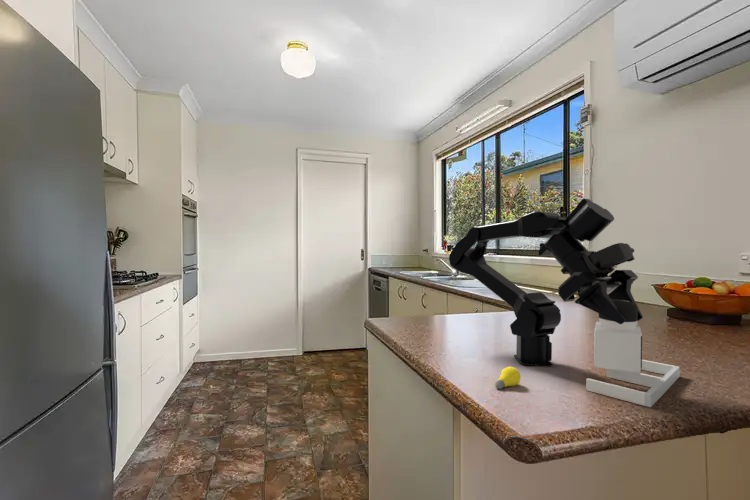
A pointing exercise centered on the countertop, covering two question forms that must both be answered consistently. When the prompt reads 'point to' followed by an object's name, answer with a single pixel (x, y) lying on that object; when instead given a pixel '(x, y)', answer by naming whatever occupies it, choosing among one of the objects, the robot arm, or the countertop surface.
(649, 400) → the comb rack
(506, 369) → the light bulb
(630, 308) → the medicine bottle
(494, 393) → the countertop surface
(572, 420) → the countertop surface
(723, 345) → the countertop surface
